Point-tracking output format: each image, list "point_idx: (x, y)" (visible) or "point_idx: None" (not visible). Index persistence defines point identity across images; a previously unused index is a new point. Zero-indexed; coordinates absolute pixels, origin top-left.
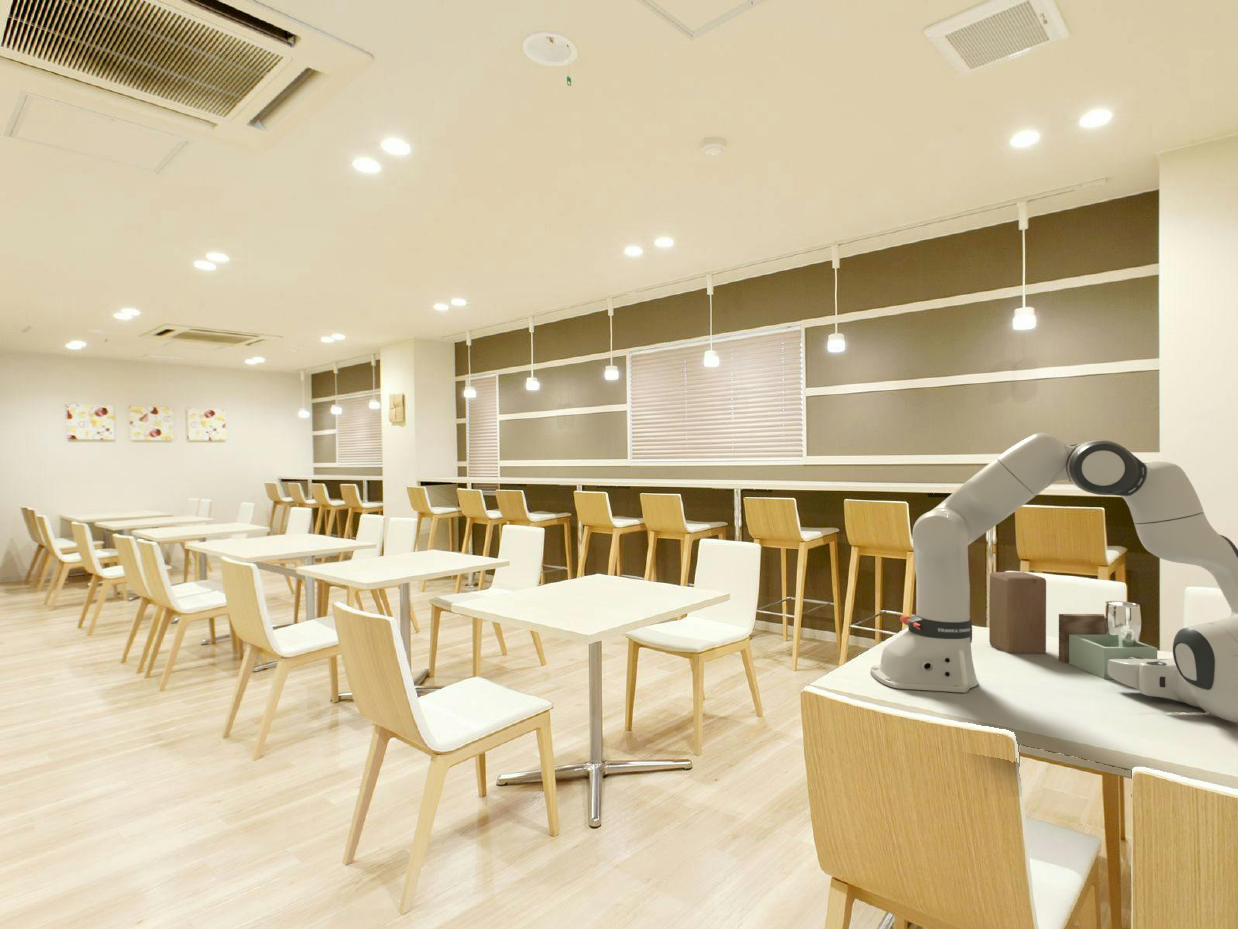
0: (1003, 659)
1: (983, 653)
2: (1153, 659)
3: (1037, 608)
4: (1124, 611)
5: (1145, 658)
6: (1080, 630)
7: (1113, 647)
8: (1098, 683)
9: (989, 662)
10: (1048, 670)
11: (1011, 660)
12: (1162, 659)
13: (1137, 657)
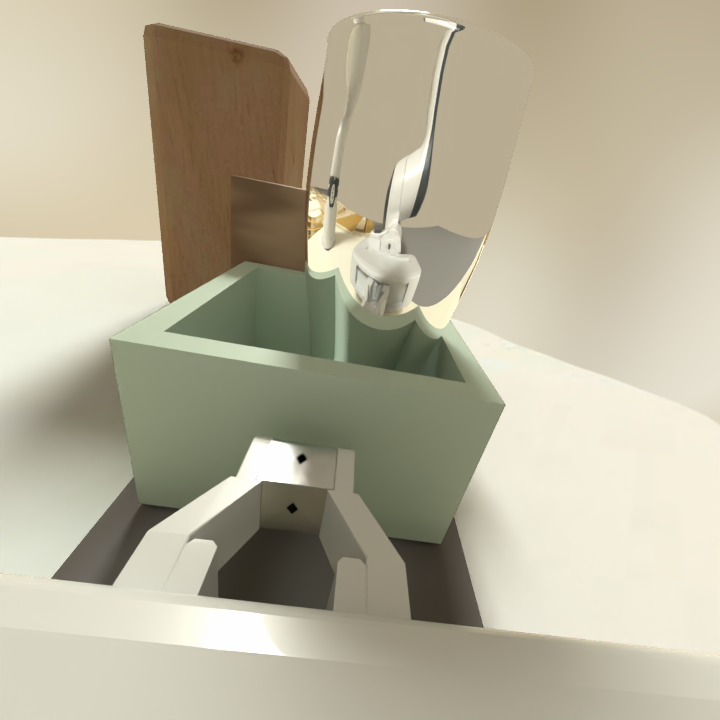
0: (100, 312)
1: (116, 290)
2: (222, 670)
3: (245, 173)
4: (374, 69)
5: (337, 488)
6: (296, 253)
7: (205, 345)
8: (49, 538)
9: (7, 312)
10: (92, 378)
11: (112, 319)
12: (374, 684)
13: (303, 455)
